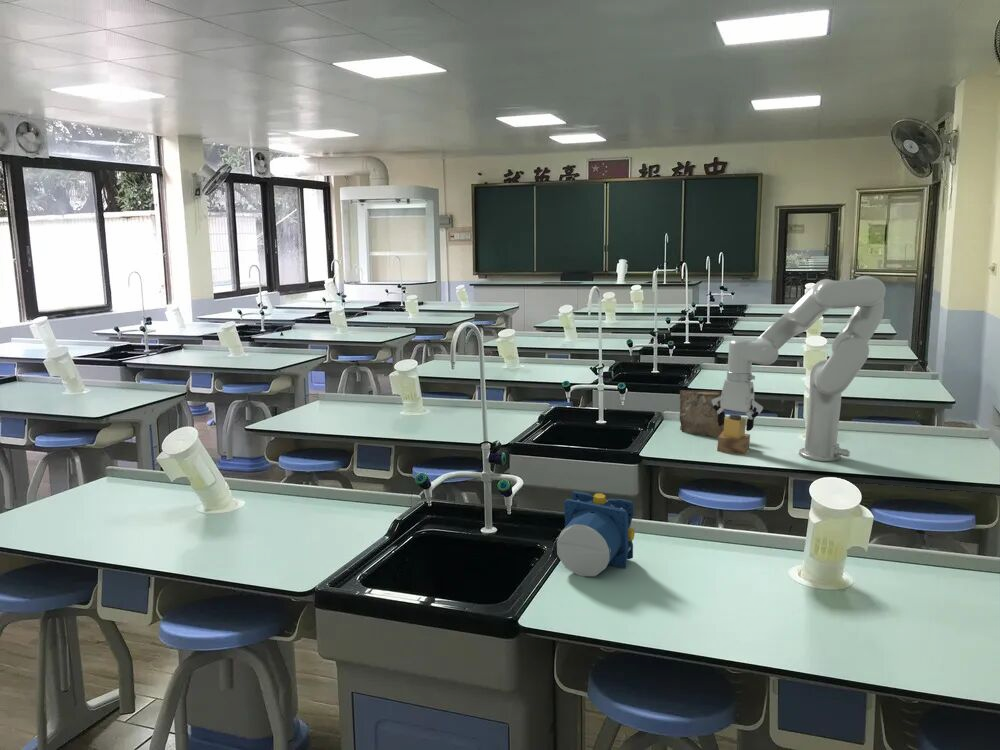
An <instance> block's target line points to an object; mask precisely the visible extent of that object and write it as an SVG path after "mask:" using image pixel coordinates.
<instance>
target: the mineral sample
mask: <svg viewBox="0 0 1000 750" xmlns="http://www.w3.org/2000/svg"><path fill="white" fill-rule="evenodd" d="M721 394H722V390H721V391H720V390H693V389H692V390H691V389H687V390H685V389H684V390H683V389H679V400H680V401H679V402H680V403H679V404H680V405H679V409H680V411H679V423H680V427H679V430H680V431H681V432H682V433H686V434H692V435H693V434H694V435H704V436H708V437H713V438H717V439H718V437H719V435H720V434H721V433H722V431H724V425H721V426H718V414H717V411H716V410H715V409H714V406H713V404H712V401H711V400H712V399H714V398H717V397H720V396H721ZM720 402H721V400H720V401H718V402H717V403H718V405H719V406H720ZM720 408H721V406H720ZM724 414H725V415H726V412H725V411H724Z"/></svg>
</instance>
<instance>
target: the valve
mask: <svg viewBox="0 0 1000 750" xmlns="http://www.w3.org/2000/svg"><path fill="white" fill-rule="evenodd" d="M606 498H607V497H606V495H605V494H603V493H602V492H601V493H597V492H596V493H595V494H593V495H592V494H590V493H588V492H584V491H583V492H581V491H576V490H573V491H572V499H571V498H567V499H566V500H564V503H563V505H564V528H562V530H561V532H560V534H559V536H558V537H557V539H556V555H557V556H558V558H559V559H560V561H561V563H562V564H563V566H564V568H565V569H567V570H568V571H570V572H573V574H576V575H578V576H579V577H597V575H599V574H600V573H601V572H603V571H604V570H606V569H607V566H610V567H615V568H620V569H627V563H628V560H631V559H633V558H634V543H633V541H634V539H635V534H636V533H635V529H634V528H632V527H631V525H632V521H633V517H634V501H631V500H627V499H622V498H608V499H606Z"/></svg>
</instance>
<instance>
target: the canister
mask: <svg viewBox="0 0 1000 750" xmlns="http://www.w3.org/2000/svg"><path fill="white" fill-rule="evenodd" d="M746 427H747V418H745V417H742V415H740V414H734V413H733V414H732V413H731V414H729V416H728V417H725V419H724V433H723V436H726V437H731V438H736V439H739V438H741V437H743V436H745V434H746Z"/></svg>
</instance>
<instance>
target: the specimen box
mask: <svg viewBox="0 0 1000 750" xmlns="http://www.w3.org/2000/svg"><path fill="white" fill-rule="evenodd" d="M723 433H724V431H722V433H721V434H720V435H719V437H718V438H717V447H716V448H717V449H716V451H717V452H723V453H729V454H736V455H745V456H746V455H747V454H748V453H747V452H748V451H749V449H750V441H751V434H749V433H745V436H743V437H741V438H739V439H736V438H731V437H726V436H723Z"/></svg>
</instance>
